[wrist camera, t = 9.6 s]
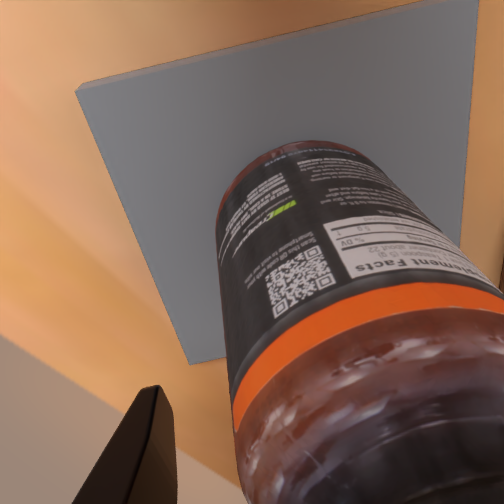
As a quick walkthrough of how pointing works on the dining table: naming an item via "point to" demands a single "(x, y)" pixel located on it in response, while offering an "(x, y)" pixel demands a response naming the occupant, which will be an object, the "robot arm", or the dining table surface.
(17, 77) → the dining table surface
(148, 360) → the dining table surface
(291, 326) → the supplement bottle
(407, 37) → the mat
